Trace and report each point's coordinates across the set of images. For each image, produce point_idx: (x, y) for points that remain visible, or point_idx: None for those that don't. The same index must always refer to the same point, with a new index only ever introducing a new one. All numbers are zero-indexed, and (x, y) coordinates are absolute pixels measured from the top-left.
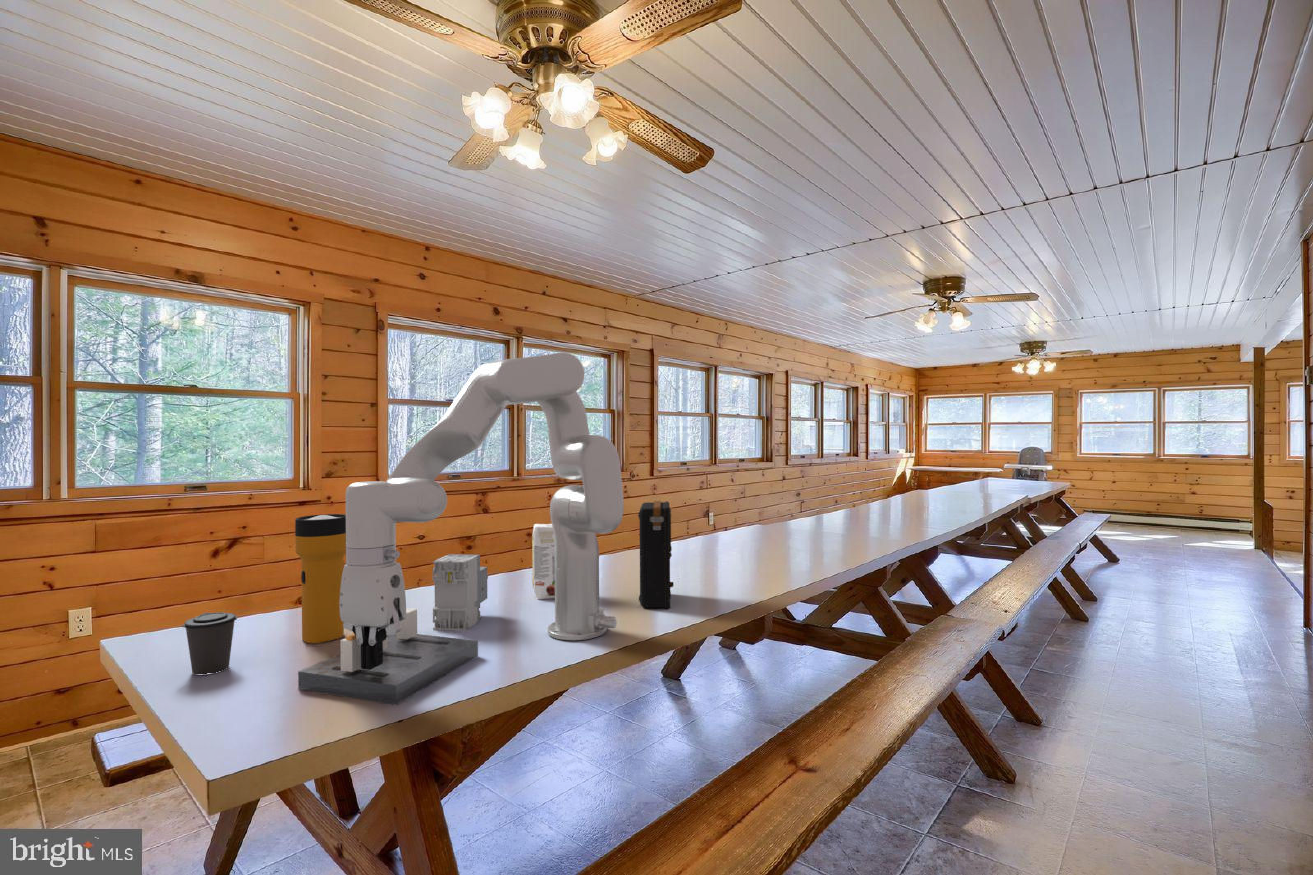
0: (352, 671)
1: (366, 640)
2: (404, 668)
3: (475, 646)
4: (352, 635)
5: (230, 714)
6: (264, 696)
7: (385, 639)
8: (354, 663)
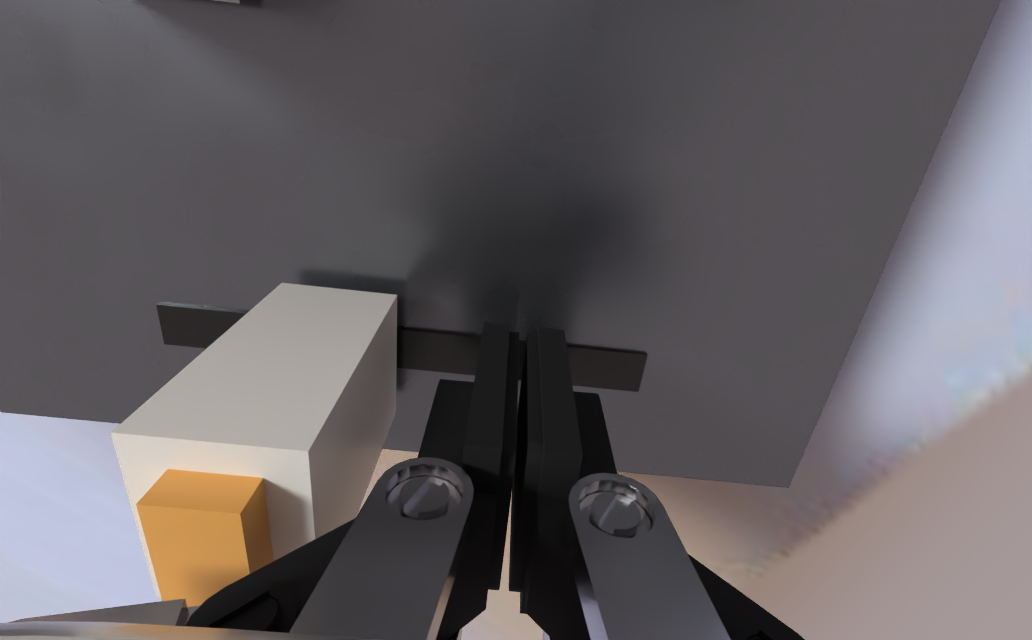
0: (395, 412)
1: (479, 608)
2: (714, 242)
3: None
4: None
5: (102, 577)
6: (27, 441)
7: (649, 498)
8: (384, 429)
